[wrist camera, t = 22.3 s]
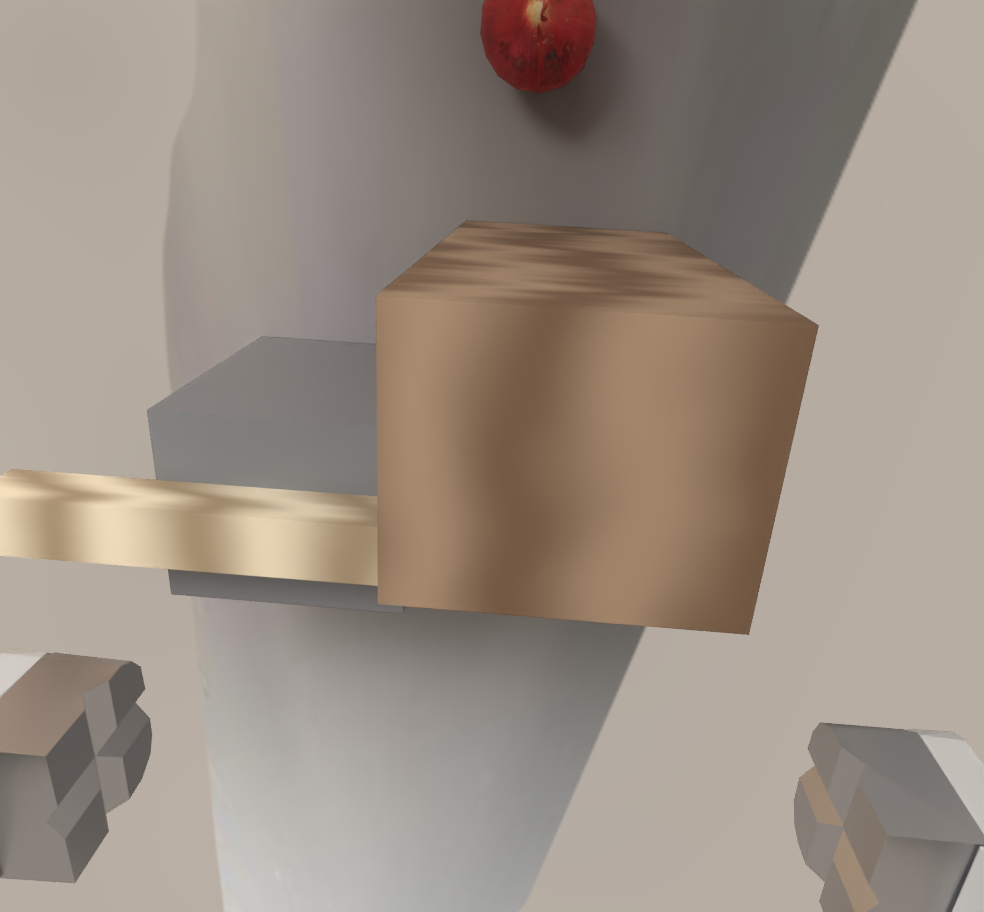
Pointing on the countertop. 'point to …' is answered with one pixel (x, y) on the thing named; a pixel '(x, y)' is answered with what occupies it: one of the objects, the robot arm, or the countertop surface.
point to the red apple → (538, 40)
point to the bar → (189, 526)
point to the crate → (275, 446)
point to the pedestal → (581, 428)
